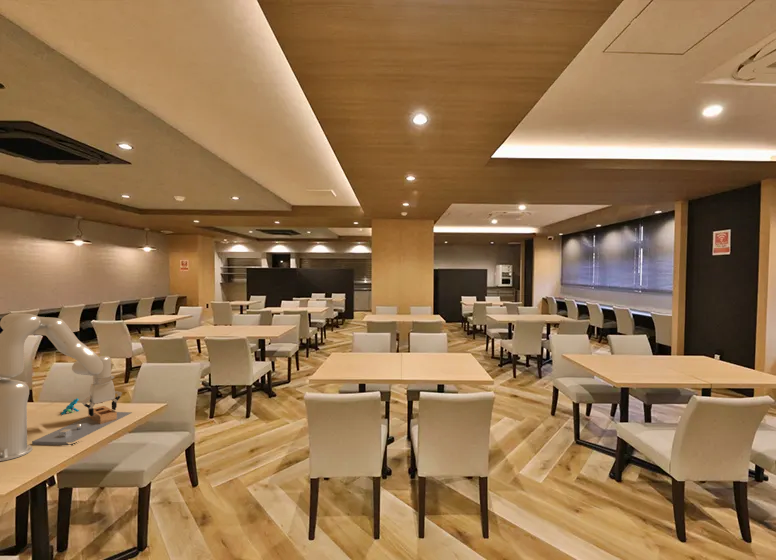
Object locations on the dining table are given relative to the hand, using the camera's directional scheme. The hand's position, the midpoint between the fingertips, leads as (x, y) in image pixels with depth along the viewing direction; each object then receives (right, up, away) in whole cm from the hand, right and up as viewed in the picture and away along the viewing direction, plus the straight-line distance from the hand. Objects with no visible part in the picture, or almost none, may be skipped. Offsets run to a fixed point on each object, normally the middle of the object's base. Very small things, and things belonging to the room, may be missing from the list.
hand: (102, 412), depth 191 cm
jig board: (-1, -5, -9) cm, 10 cm away
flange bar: (0, -3, 0) cm, 3 cm away
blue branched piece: (-26, -5, +10) cm, 29 cm away
